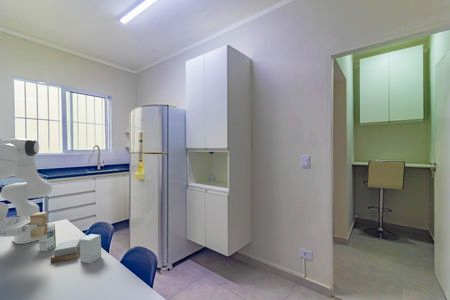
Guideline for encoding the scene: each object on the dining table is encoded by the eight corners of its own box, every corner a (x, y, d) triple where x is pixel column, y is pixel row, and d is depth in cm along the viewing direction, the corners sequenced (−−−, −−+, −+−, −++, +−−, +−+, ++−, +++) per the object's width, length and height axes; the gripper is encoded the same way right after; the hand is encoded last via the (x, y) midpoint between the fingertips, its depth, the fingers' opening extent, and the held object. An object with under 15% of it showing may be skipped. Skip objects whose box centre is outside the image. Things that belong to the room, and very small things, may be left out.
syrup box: (46, 251, 127) (46, 227, 127) (38, 250, 128) (38, 226, 128) (56, 246, 133) (55, 223, 133) (48, 246, 134) (47, 223, 134)
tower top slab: (59, 248, 124) (59, 242, 124) (80, 245, 128) (79, 239, 128) (54, 256, 115) (54, 250, 115) (76, 252, 119) (76, 246, 119)
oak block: (36, 234, 114) (35, 212, 114) (47, 233, 116) (46, 211, 115) (30, 238, 109) (30, 215, 109) (42, 237, 111) (41, 214, 111)
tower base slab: (60, 253, 125) (60, 247, 125) (83, 250, 129) (83, 244, 129) (50, 264, 114) (50, 257, 114) (76, 260, 118) (76, 254, 118)
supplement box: (101, 257, 120) (101, 234, 119) (90, 264, 112) (89, 240, 112) (91, 255, 122) (91, 233, 122) (79, 262, 115) (78, 238, 114)
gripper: (-8, 228, 99) (28, 224, 103) (21, 214, 118) (50, 212, 122) (-7, 241, 99) (29, 237, 103) (21, 225, 119) (50, 223, 122)
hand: (41, 223), depth 113 cm, fingers closed on oak block, 5 cm apart
